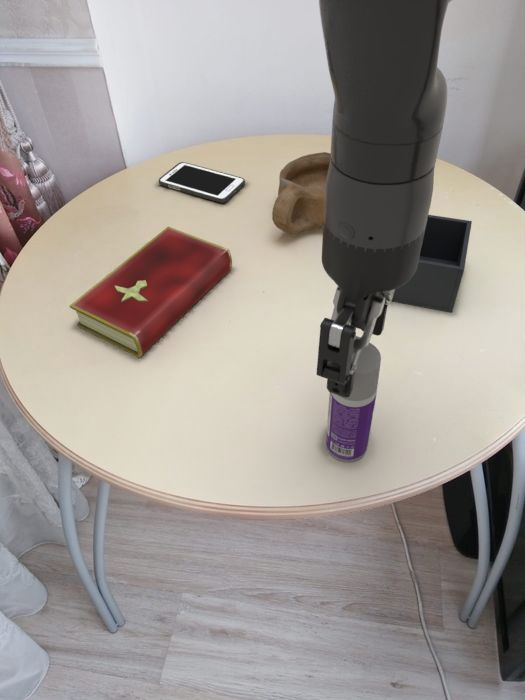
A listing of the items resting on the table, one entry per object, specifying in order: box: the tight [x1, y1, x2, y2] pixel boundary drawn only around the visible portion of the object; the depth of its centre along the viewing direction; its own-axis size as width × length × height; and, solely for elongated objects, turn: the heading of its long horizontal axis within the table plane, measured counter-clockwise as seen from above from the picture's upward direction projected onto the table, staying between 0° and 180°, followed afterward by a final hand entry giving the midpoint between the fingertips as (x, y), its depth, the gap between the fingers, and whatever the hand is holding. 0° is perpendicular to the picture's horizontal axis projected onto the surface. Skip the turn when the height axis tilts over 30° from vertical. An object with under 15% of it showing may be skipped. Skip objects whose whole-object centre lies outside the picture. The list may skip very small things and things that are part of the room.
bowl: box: [271, 151, 331, 234], centre depth 91 cm, size 18×14×10 cm
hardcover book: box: [69, 226, 233, 359], centre depth 81 cm, size 12×21×4 cm, turn 147°
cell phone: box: [158, 161, 246, 204], centre depth 102 cm, size 8×15×1 cm, turn 60°
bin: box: [391, 214, 473, 313], centre depth 80 cm, size 11×11×8 cm
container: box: [325, 342, 382, 463], centre depth 58 cm, size 5×5×15 cm
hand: (356, 359), depth 53 cm, fingers open, 8 cm apart
